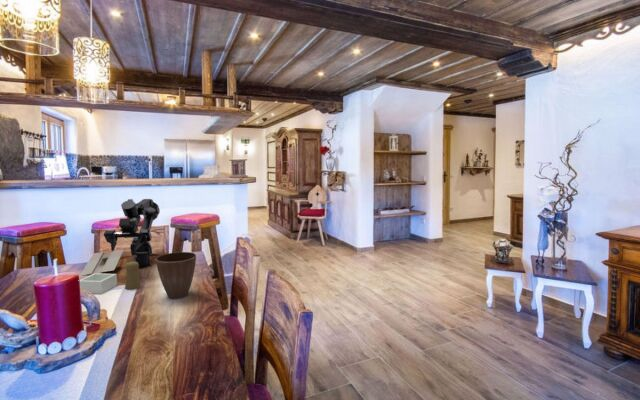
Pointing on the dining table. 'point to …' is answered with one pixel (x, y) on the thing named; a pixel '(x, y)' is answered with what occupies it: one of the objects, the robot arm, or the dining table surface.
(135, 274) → the cork
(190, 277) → the plant pot
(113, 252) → the grey slanted panel stand
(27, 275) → the dining table surface
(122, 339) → the dining table surface
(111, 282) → the grey open box
